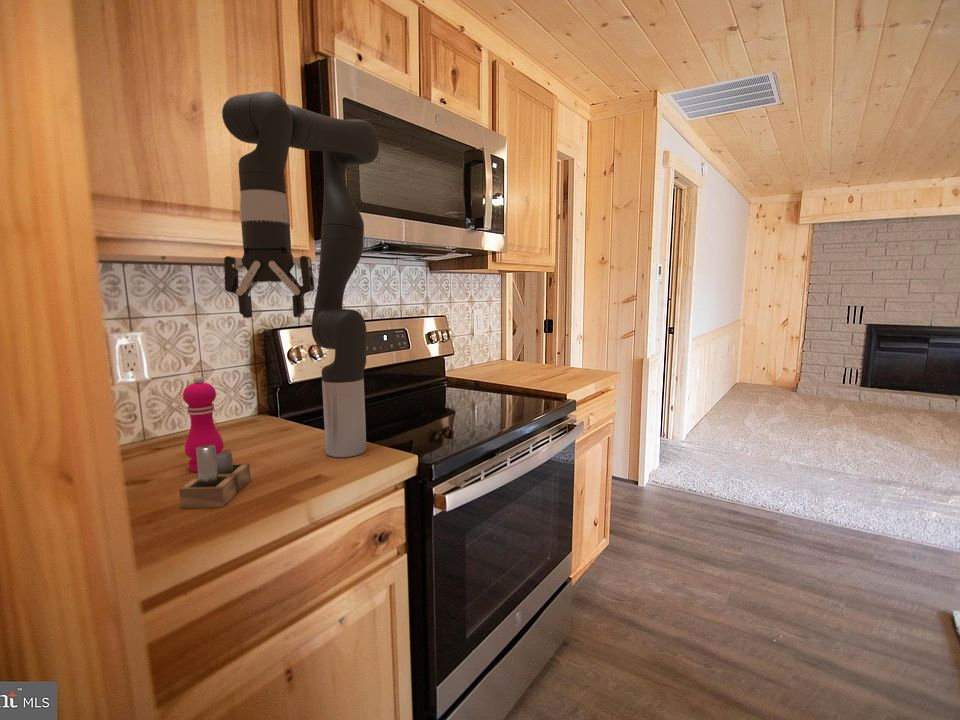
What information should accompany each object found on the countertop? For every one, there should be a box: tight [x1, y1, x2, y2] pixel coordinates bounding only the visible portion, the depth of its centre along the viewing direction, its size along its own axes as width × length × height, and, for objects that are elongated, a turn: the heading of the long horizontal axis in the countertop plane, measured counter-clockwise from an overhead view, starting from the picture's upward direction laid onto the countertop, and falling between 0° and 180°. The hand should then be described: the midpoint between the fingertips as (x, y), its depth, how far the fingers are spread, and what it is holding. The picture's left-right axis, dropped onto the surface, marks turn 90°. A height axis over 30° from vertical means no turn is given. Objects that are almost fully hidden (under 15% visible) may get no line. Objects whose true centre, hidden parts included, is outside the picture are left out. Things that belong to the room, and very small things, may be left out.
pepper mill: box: [182, 374, 225, 473], centre depth 102 cm, size 7×7×20 cm
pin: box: [196, 445, 219, 487], centre depth 86 cm, size 3×3×10 cm
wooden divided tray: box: [178, 451, 252, 509], centre depth 89 cm, size 12×7×6 cm, turn 3°
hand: (272, 317), depth 84 cm, fingers open, 8 cm apart
